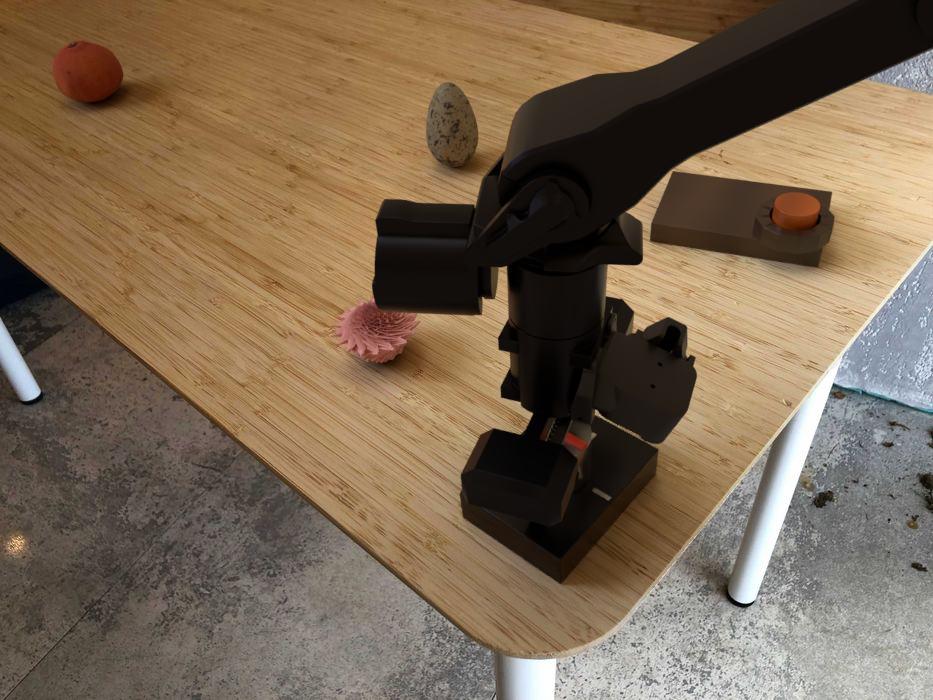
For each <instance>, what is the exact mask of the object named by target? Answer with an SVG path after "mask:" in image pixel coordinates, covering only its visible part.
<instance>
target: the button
mask: <svg viewBox="0 0 933 700" xmlns="http://www.w3.org/2000/svg"><path fill="white" fill-rule="evenodd" d="M819 211H820V203H819V202H818V200H817V199H815V198H814V197H812V196H810V195H808V194H804V193H798V192H791V193H785V194H782V195H780V196H779V197H777V199H776V200H775V204H774V209H773V214H772V220H773V222H774V223H775V224H776V225H778V226H780V227H782V228H784V229H790V230H796V231H802V230H808V229H812V228H813V227H814V226H815V225H816V223H817V219H818V215H819Z"/></svg>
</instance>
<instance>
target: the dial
mask: <svg viewBox="0 0 933 700" xmlns="http://www.w3.org/2000/svg"><path fill="white" fill-rule="evenodd" d="M555 419H556V418H555ZM555 419H554V422H553V423H555ZM551 428H553V424H552V426H551ZM549 432H551V429H550V431H549ZM547 437H549V433H548V436H547ZM545 441H547V438H546V440H545ZM563 445H564V446H565V447H566V448H567V449H568V450H569V451H570V452H571V453H572V454H573V455H574V456H575V457H576V458H577V459H578V471H577V472H579V476H578V478H577V481H576V484H575V486H574V489H573V492H575V491H577V490H579V489H581V488H582V487H583V486H584V485H585V484H586V483H587V482H588V480H589V478H590V475H591V448H592V431H591V428H590V426H589V424H585V423H581V422H576V421H572V424H571V426H570V429H569V431H568V433H567V436H566V438H565V441H564V443H563ZM573 492H572V493H573Z"/></svg>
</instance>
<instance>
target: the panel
mask: <svg viewBox="0 0 933 700" xmlns="http://www.w3.org/2000/svg"><path fill="white" fill-rule="evenodd" d="M589 426H590V428H591V431H592V448H591V475H590V478H589V480H588V482H587V483H586V484H585V485H584V486H583V487H582V488H581V489H579V490H577V491H575V492H573V493H572V494H571V497H570V500H569V502H568V505H567V508H566V510H565V513H564V516H563V518H562V521H561V522H559V523H557V524H554V525H552V526H545V525H542V524H538V523H535V522H531V521H528V520H524V519H521V518H517V517H513V516H510V515H506V514H503V513H499V512H496V511H492V510H489V509H485V508H481V507H478V506H474V505H471V504H468V503H467V501H466V500H465V498H464V496H463V494H462V490H461V491H460V492H459V499H460V507H461V514H462V518H463V519H464V520H466V521H467V522H469V523H470V524H472V525H473V526H474V527H476V528H477V529H479V530H480V531H482V532H483V533H485V534H486V535H487V536H489V537H490V538H492V539H494V540H495V541H496V542H498V543H499V544H501V545H502V546H503V547H505V548H507V550H510V551H511V552H513V553H514V554H515V555H517V556H519V557H520V558H521V559H523V560H524V561H526V562H527V563H529V564H530V565H532V566H533V567H535V568H536V569H538V570H539V571H540V572H542V573H543V574H545V575H546V576H547V577H549V578H551V579H552V580H553V581H555V582H556V583H558V584H559V585H562V583H564V581H565V580H567V578H568V577H569V575H570V574H571V573H572V572H573V571H574V570H575V569H576V568H577V566H578V565H579V564H580V563H581V562H582V561H583V559H584V558H585V556H587V555H588V554H589V553H590V551H591V550H592V549H593V548H594V547H595V545H596V544H598V543H599V541H600V540H601V538H602V537H604V535H605V534H606V533H607V532H608V531H609V529H610V528H611V527H612V526H613V525H614V524H615V523H616V521H618V520H619V518H620V517H621V516H622V514H623V513H624V512H625V511H626V509H628V507H630V505H631V504H632V503H633V502H634V500H635V499H636V498H637V497H638V496H639V495H640V494H641V492H642V491H643V490H644V489H646V487H647V485H649V483H650V482H651V481H652V480H653V479H654V477H656V475H657V469H658V458H659V450H660V449H659V448H657V447H656V446H654V445H653V444H651V443H649V442H646V441H644V440H642V439H641V438H639V437H638V436H636V435H633V434H631V433H630V432H628V431H626V430H624V429H623V428H621V427H618V425H617V426H616V424H614V423H612V422H610V421H607V420H605V418H604V419H603V418H602V417H600V416H598V415H596V414H595V416H594V419H593V421H592V424H591V425H589ZM525 430H526V428H525V429H524V430H523V431H522V432H521V433H520V435H523V434H524V432H525Z"/></svg>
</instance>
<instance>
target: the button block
mask: <svg viewBox="0 0 933 700" xmlns="http://www.w3.org/2000/svg"><path fill="white" fill-rule="evenodd" d="M791 192H798V193H804V194H808V195H810V196H812V197H814V198H815V199H817V200H818V202H819V203H820V211H819V215H818V219H817V223H816V225H815V226H814V227H813V228H812V229H808V230H802V231H796V230H790V229H784V228H782V227H780V226H778V225H776V224H775V223H774V222H773V220H772V214H773V209H774V204H775V200H776V199H777V197H779V196H780V195H782V194H785V193H791ZM832 196H833V191H831V190H823V189H814V188H807V187H800V186H793V185H792V186H791V185H783V184H776V183H769V182H761V181H760V182H759V181H754V180H745V179H738V178H729V177H723V176H715V175H707V174H699V173H691V172H685V171H684V172H683V171H676V170H672V171H671V174H670V177H669V180H668V182H667V183H666V186H665V189H664V191H663V193H662V196H661V198H660V201H659V202H658V206H657V208H656V211H655V212H654V216H653V218H652V220H651V222H650V233H649V241H650V242H655V243H661V244H668V245H674V246H680V247H687V248H693V249H700V250H706V251H713V252H718V253H723V254H731V255H738V256H744V257H750V258H754V259H755V258H756V259H762V260H768V261H775V262H781V263H787V264H794V265H800V266H806V267H813V268H819V266H820V262H821V257H822V254H823V250H824V247H825V246H827V245H828V244H830V240H831V237H832V233H833V230H834V223H835V217H836V216H835V215H834V213H832V211H831V210H830V209H831V203H832Z"/></svg>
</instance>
